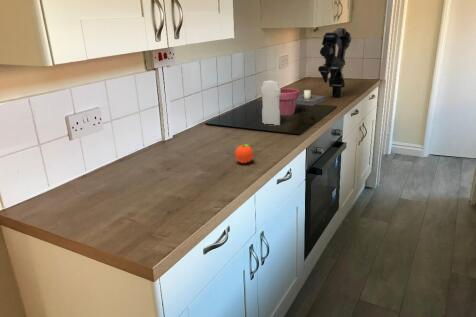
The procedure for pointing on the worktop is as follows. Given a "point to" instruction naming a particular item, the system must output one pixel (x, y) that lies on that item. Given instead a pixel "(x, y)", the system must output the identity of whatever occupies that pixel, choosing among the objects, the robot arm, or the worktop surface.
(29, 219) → the worktop surface
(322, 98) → the hole plate
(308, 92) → the peg
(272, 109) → the tall pale column
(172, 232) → the worktop surface
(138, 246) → the worktop surface
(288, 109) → the plant pot
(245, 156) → the clementine
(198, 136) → the worktop surface
